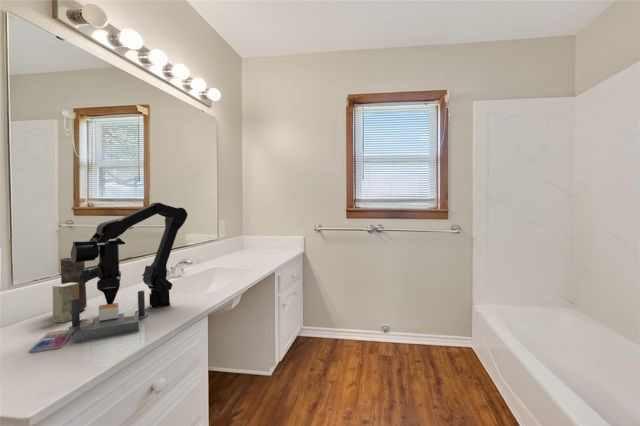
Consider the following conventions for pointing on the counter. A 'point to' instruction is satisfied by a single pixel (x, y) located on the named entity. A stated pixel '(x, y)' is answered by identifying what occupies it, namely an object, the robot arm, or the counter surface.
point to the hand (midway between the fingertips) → (110, 303)
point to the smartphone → (52, 341)
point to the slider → (108, 311)
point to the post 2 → (141, 305)
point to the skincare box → (64, 301)
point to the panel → (106, 327)
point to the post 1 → (75, 313)
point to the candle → (74, 278)
